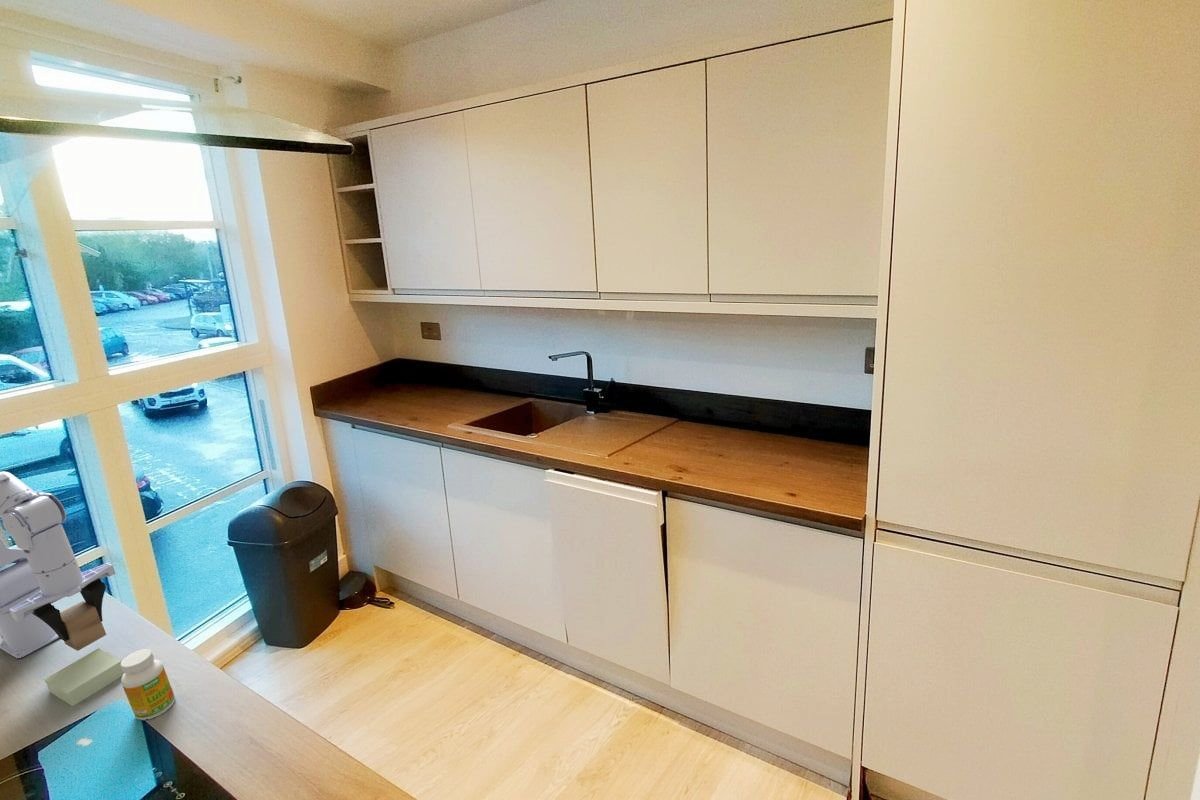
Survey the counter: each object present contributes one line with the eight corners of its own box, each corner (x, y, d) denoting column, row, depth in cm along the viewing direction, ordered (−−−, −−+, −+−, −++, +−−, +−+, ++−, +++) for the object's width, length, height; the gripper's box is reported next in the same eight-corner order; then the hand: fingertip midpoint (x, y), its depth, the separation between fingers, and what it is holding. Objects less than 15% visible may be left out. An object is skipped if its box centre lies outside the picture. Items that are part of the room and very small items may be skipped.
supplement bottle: (155, 722, 96) (134, 671, 93) (126, 719, 97) (105, 669, 94) (183, 696, 101) (165, 646, 98) (156, 693, 102) (137, 644, 99)
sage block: (50, 693, 105) (44, 679, 104) (104, 662, 111) (98, 648, 110) (73, 708, 101) (66, 693, 100) (127, 674, 107) (121, 660, 106)
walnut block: (65, 644, 111) (53, 616, 109) (94, 628, 115) (82, 601, 113) (77, 651, 109) (65, 622, 107) (106, 634, 113) (95, 606, 111)
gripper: (11, 593, 99) (43, 662, 103) (112, 546, 111) (137, 610, 115) (-8, 583, 102) (24, 651, 107) (93, 539, 114) (117, 602, 119)
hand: (81, 629), depth 111 cm, fingers closed on walnut block, 4 cm apart
